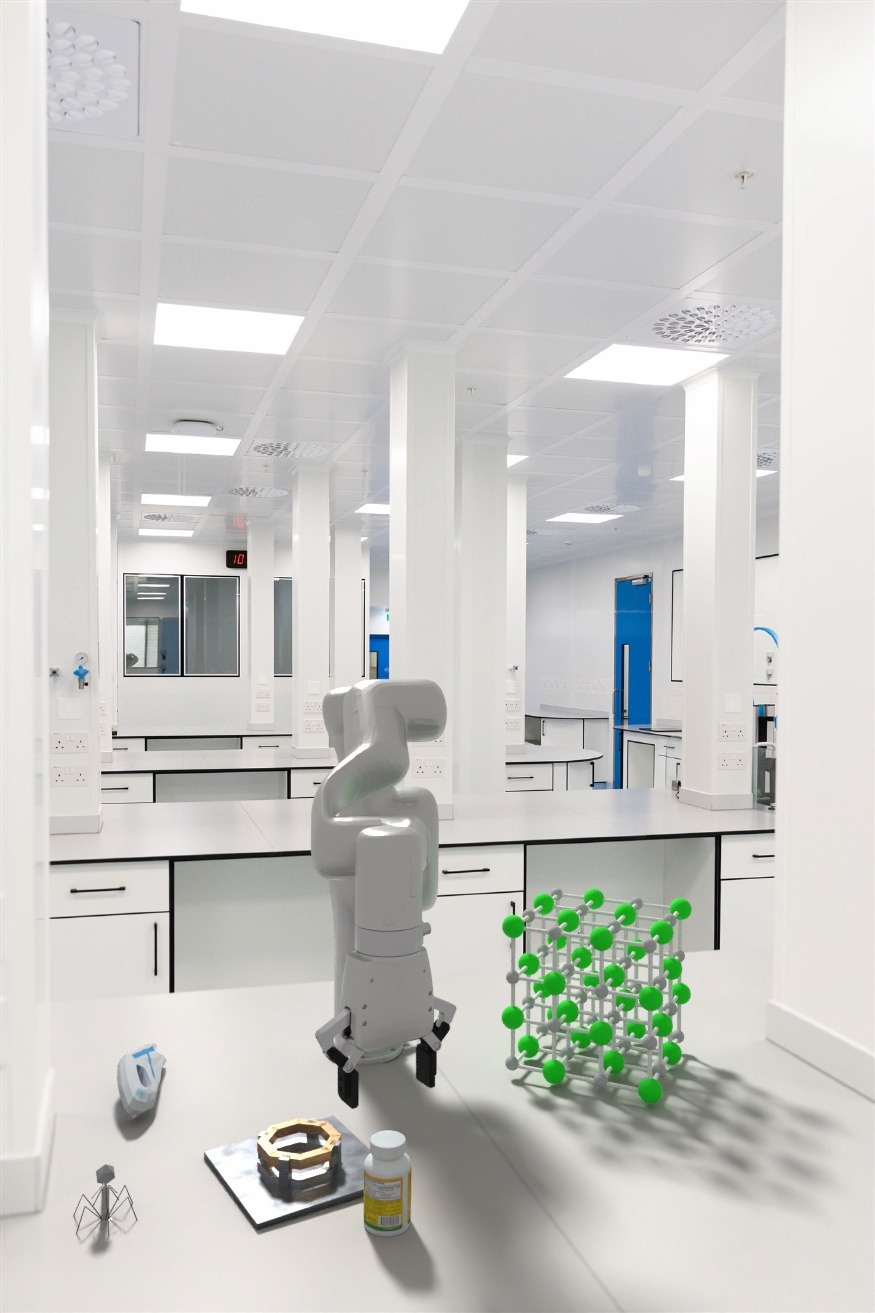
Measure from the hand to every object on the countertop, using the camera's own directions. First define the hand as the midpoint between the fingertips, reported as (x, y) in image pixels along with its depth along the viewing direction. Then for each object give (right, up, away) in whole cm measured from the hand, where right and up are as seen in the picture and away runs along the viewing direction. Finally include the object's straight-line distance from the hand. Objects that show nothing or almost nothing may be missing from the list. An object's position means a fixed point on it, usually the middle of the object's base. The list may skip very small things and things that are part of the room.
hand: (388, 1093), depth 108 cm
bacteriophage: (-32, -15, +1) cm, 35 cm away
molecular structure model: (+31, -15, +44) cm, 56 cm away
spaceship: (-33, -16, +31) cm, 48 cm away
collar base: (-11, -15, +11) cm, 22 cm away
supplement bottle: (0, -15, +1) cm, 15 cm away
